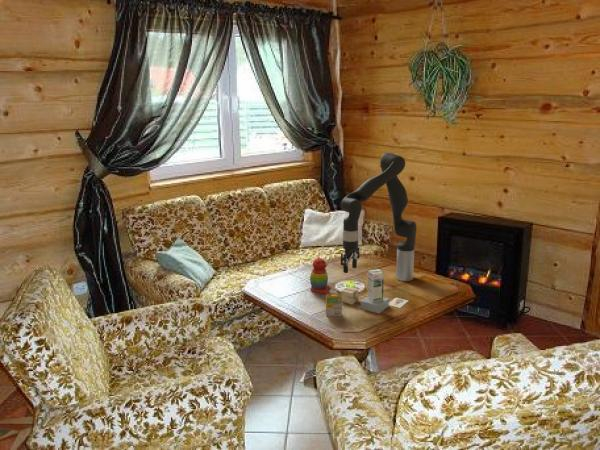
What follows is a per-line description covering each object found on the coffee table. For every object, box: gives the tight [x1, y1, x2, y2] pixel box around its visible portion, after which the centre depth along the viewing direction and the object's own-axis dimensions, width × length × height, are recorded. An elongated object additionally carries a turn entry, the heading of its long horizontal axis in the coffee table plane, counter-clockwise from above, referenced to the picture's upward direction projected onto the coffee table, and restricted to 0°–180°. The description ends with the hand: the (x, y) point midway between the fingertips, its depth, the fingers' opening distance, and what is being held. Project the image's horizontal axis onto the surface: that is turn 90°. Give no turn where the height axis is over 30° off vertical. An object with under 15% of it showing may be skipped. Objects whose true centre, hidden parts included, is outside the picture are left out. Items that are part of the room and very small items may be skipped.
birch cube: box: [341, 286, 359, 305], centre depth 251 cm, size 6×6×6 cm
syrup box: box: [367, 268, 385, 302], centre depth 242 cm, size 6×6×14 cm
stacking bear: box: [309, 256, 331, 295], centre depth 264 cm, size 11×10×18 cm
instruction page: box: [389, 297, 409, 309], centre depth 249 cm, size 10×7×1 cm
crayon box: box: [325, 292, 343, 317], centre depth 236 cm, size 7×3×12 cm, turn 92°
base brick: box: [360, 295, 390, 314], centre depth 244 cm, size 10×10×4 cm
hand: (350, 270), depth 248 cm, fingers open, 8 cm apart
